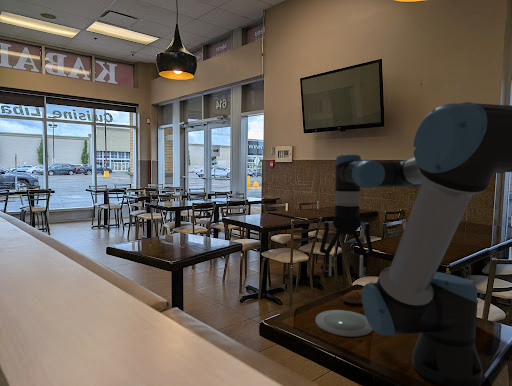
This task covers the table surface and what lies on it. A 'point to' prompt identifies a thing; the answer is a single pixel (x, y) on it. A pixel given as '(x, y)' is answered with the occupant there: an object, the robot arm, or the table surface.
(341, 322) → the serving plate
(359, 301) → the pastry
